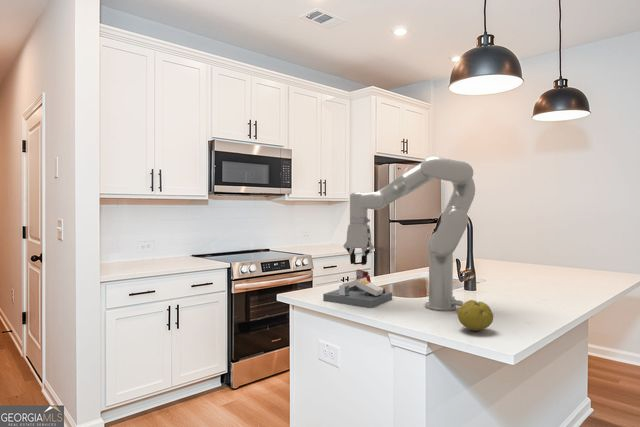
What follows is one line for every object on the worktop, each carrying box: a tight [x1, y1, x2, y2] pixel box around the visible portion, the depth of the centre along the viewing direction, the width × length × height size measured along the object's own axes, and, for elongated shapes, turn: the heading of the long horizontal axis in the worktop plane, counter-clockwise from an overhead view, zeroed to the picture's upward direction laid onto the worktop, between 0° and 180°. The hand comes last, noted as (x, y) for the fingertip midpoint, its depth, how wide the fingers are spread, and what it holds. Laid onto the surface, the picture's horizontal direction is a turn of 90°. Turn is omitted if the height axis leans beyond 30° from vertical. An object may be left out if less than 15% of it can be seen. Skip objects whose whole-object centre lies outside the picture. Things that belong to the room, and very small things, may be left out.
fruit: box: [456, 299, 494, 332], centre depth 142 cm, size 11×12×10 cm
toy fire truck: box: [355, 269, 372, 289], centre depth 207 cm, size 7×12×10 cm, turn 24°
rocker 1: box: [341, 277, 367, 287], centre depth 196 cm, size 10×6×3 cm, turn 56°
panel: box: [322, 286, 393, 309], centre depth 188 cm, size 24×20×5 cm
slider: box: [338, 284, 349, 296], centre depth 184 cm, size 3×4×4 cm
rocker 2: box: [357, 280, 384, 296], centre depth 185 cm, size 10×6×3 cm, turn 56°
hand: (358, 263), depth 180 cm, fingers open, 4 cm apart
